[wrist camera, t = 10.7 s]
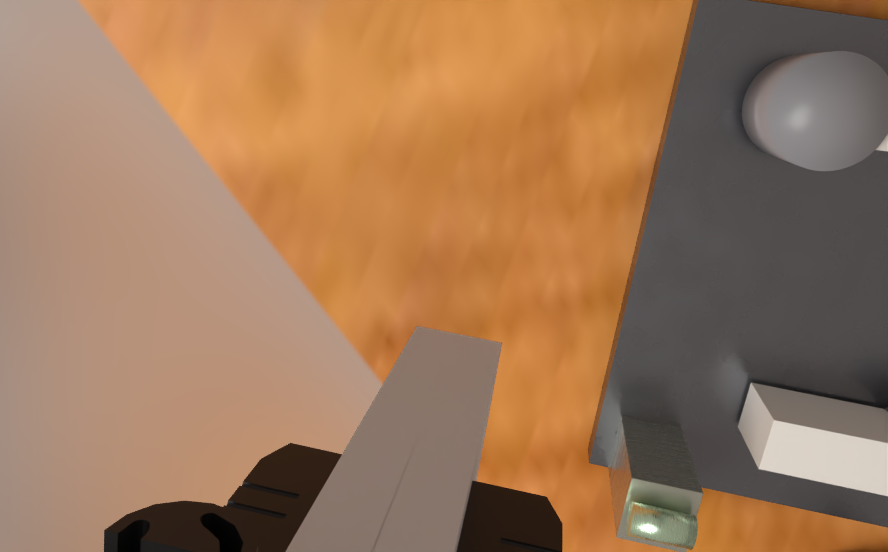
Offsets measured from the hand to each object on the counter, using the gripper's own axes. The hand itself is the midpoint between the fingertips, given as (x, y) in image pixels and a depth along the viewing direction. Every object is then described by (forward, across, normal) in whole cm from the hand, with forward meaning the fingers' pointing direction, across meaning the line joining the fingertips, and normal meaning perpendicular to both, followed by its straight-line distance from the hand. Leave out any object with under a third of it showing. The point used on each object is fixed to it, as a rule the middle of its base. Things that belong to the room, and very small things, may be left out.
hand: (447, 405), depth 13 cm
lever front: (+23, +15, +6) cm, 28 cm away
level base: (+24, +14, -2) cm, 28 cm away
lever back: (+23, +18, -8) cm, 30 cm away
